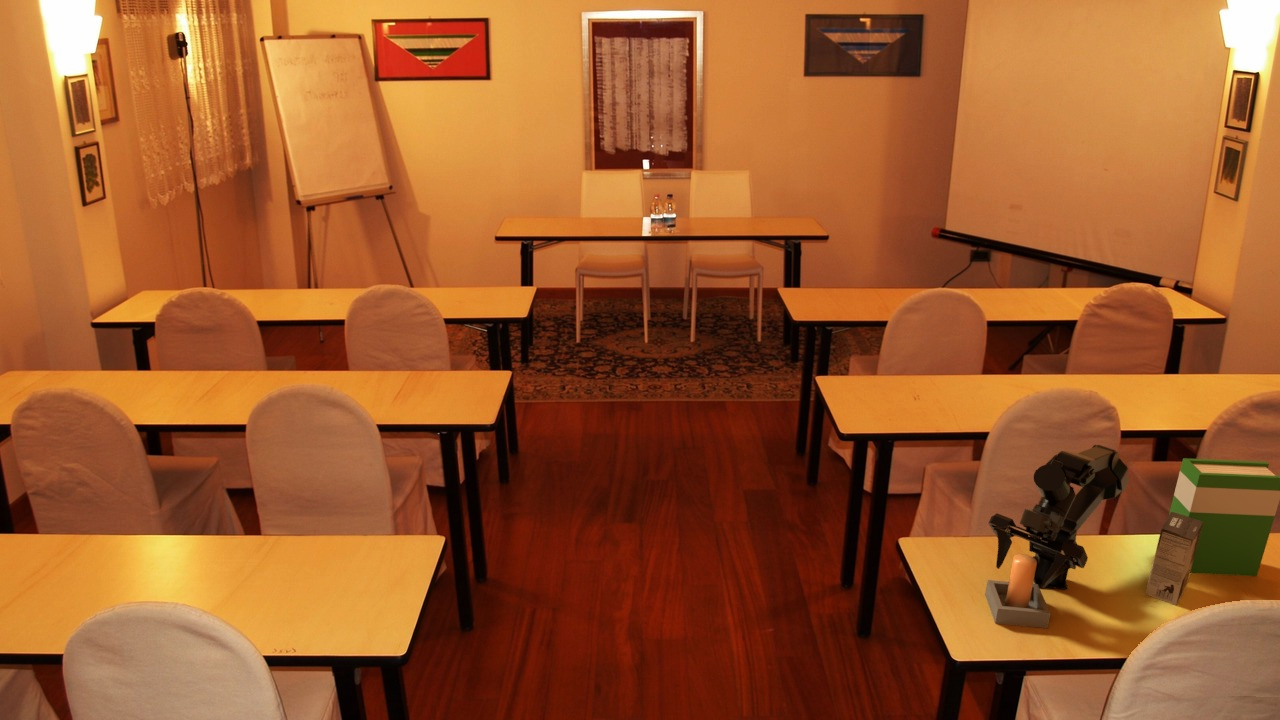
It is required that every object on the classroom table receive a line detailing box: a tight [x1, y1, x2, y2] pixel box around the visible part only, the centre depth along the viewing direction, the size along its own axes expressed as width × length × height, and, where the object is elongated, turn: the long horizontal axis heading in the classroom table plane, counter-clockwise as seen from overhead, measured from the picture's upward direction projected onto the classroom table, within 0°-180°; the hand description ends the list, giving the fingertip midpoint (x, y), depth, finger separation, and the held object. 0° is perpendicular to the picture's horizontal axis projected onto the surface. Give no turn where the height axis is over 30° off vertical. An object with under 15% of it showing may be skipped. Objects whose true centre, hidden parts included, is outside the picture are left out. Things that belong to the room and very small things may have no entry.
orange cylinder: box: [1005, 553, 1037, 608], centre depth 197 cm, size 4×4×11 cm
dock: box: [984, 579, 1051, 629], centre depth 199 cm, size 10×10×4 cm
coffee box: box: [1145, 512, 1203, 606], centre depth 205 cm, size 9×6×16 cm
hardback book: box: [1168, 457, 1280, 577], centre depth 213 cm, size 18×7×24 cm, turn 87°
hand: (1019, 577), depth 195 cm, fingers open, 9 cm apart
